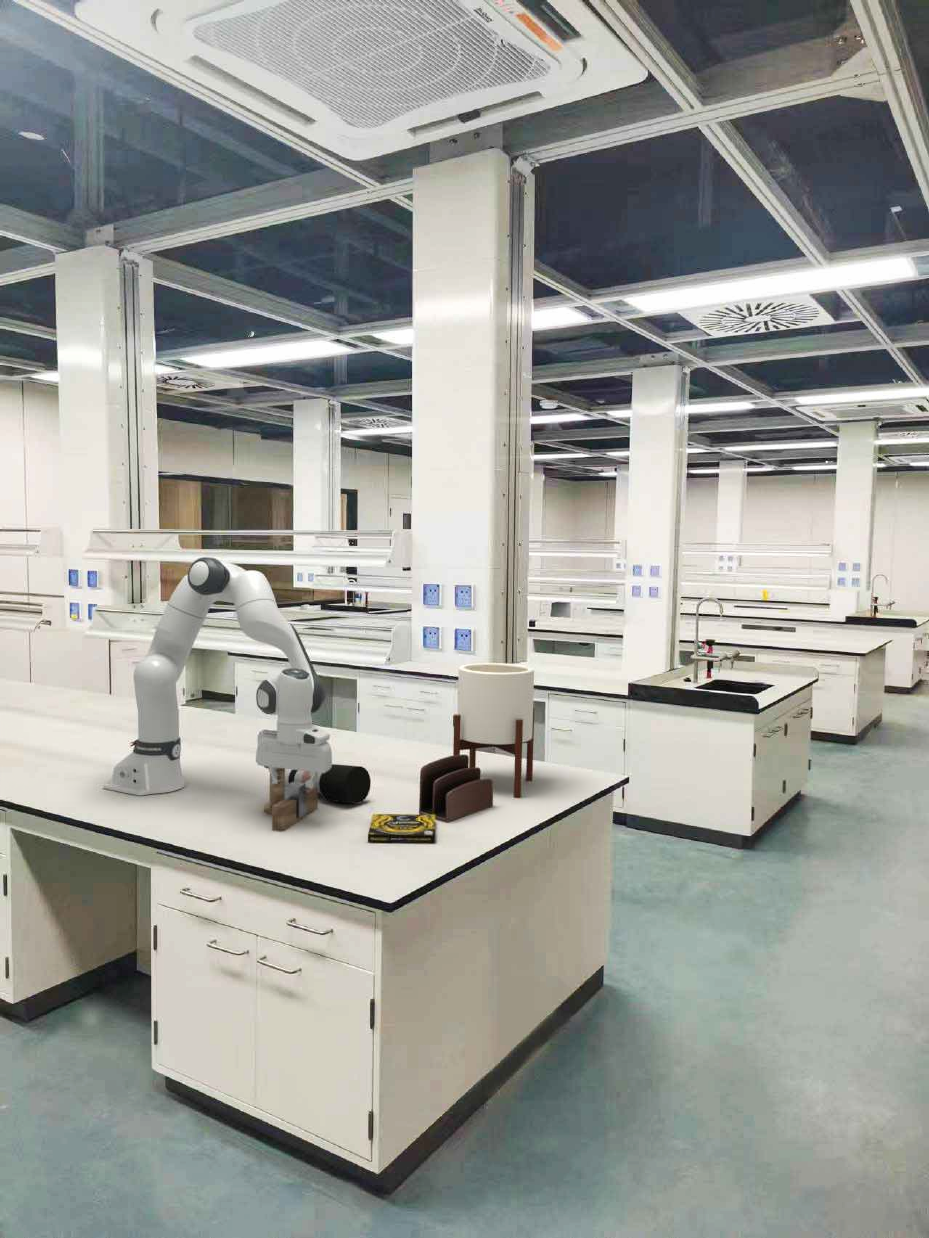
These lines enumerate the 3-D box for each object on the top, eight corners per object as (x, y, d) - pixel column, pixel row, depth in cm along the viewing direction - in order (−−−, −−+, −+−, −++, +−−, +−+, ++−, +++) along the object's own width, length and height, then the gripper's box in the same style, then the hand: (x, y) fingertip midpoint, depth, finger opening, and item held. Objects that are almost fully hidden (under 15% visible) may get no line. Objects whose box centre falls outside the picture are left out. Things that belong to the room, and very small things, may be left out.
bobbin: (258, 812, 222) (259, 764, 221) (271, 805, 229) (271, 758, 228) (282, 815, 220) (283, 766, 219) (295, 807, 227) (295, 760, 226)
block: (284, 816, 216) (285, 785, 216) (292, 811, 220) (292, 781, 220) (299, 818, 215) (299, 787, 215) (306, 813, 219) (306, 783, 218)
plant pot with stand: (537, 779, 261) (540, 665, 258) (522, 799, 239) (525, 675, 236) (467, 773, 267) (469, 661, 264) (446, 792, 245) (449, 670, 242)
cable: (282, 797, 252) (292, 764, 255) (365, 807, 232) (374, 772, 235) (258, 788, 244) (268, 754, 248) (341, 798, 224) (351, 761, 228)
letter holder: (418, 815, 223) (419, 763, 222) (465, 799, 239) (466, 750, 238) (446, 823, 217) (447, 769, 216) (493, 806, 232) (494, 756, 231)
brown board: (272, 829, 209) (272, 806, 208) (307, 807, 227) (307, 785, 227) (283, 831, 208) (283, 807, 207) (317, 808, 227) (317, 786, 226)
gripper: (251, 731, 215) (250, 784, 216) (324, 739, 210) (323, 793, 211) (264, 726, 221) (263, 778, 222) (335, 734, 216) (333, 787, 217)
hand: (292, 785), depth 217 cm, fingers open, 8 cm apart
